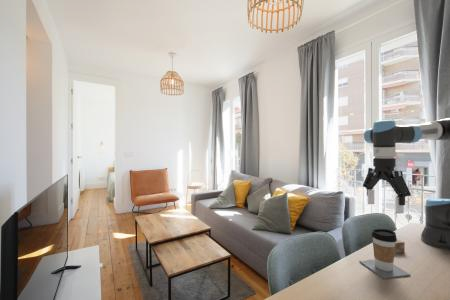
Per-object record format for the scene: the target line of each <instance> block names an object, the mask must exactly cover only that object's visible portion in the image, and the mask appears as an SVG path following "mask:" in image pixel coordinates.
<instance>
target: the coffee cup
mask: <svg viewBox="0 0 450 300" xmlns="http://www.w3.org/2000/svg"><path fill="white" fill-rule="evenodd" d="M371 237H372V248H373V258H374V260H375V266H376V267H377V268H379V269H381V270H384V271H392V270H393V264H394V262H395V254H396V253H395V247H396V245H395V242H396V241H397V239H398V238H397V234H396V232H395V231H393V230H391V229H386V228H375V229H373V230H372V232H371Z"/></svg>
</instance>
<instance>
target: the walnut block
mask: <svg viewBox="0 0 450 300" xmlns="http://www.w3.org/2000/svg"><path fill="white" fill-rule="evenodd" d="M395 245H396V247H395V254H403V253H405V245H406V244H405V242H404V241H402V240H400V239H398V238H397V241H396V242H395Z"/></svg>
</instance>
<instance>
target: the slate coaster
mask: <svg viewBox="0 0 450 300" xmlns="http://www.w3.org/2000/svg"><path fill="white" fill-rule="evenodd" d="M359 263H360V264H361V265H362V266H364V267H365V268H367V269H368V270H370V271H371V272H372V273H374V274H375V275H377V276H378V277H380V278H381V279H383V280H384V279H386V280H387V279H394V278H403V277H404V278H405V277H411V273H409V272H407V271H406V270H404V269H402V268H400V267H399V266H397V265H395V264H394V263H393V270H392V271H384V270H381V269H379V268H377V267H376V266H375V259H366V260H360V261H359Z"/></svg>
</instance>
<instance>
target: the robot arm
mask: <svg viewBox="0 0 450 300" xmlns="http://www.w3.org/2000/svg"><path fill="white" fill-rule="evenodd" d="M372 124H373V127H372V128H368V129H366V130H365V131H364V134H363V139H364V141H365V142H366V143H367V144H373V145H372V146H373V148H372V151H373V152H372V153H373V154H372V155H373V159H372V164H373V165H372V166H373V167H368V170H367V174H366V175H365V176H366V177H365V179H364V182H363V183H362V187H363V188H365V189H366V196H367V205H374V204H375V186H376V185H377V184H378V182H380V180H383V181H386V182H387V183H389V185H390V187H391V188H392V189H393V191H394V192H395V194H396V196H395V214H399V215H400V214H404V213H405V212H404V211H405V209H404V206H405V205H406V197H411V196H412V194H411V192H410V190H409V186H407V182H406V181H405V178H404V176H403V175H404V174H403V171H402V170H395V168H396V155H397V154H396V144H412V143H418V142H419V141H420V140H428V141H450V117H447V118H443V119H437V120H432V121H431V120H430V121H426V122H425V123H421V124H417V123H416V124H406V125H404V124H403V125H402V124H400V125H398V124H396V120H395V119H385V120H376V121H374V122H373V123H372ZM424 207H425V211H424V212H425V217H424V218H425V225H424V227H423V230H422V232H421V234H420V239H421V241H422V242H423V243H425V244H426V245H430V246H433V247H436V248H440V249H444V250H450V198H441V197H440V198H427V199H426V201H425V206H424Z"/></svg>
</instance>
